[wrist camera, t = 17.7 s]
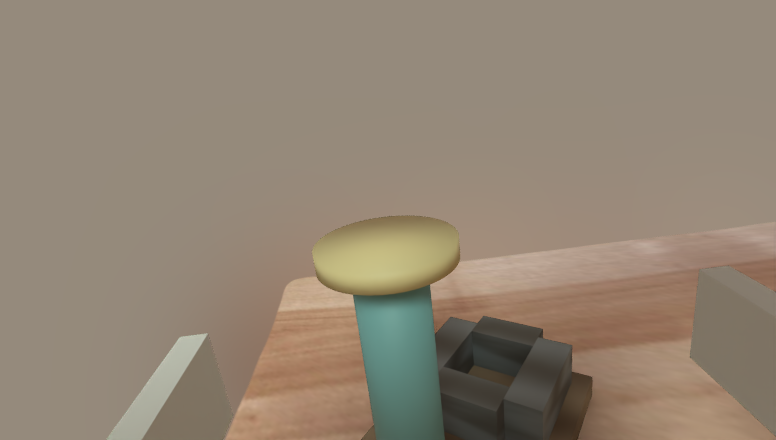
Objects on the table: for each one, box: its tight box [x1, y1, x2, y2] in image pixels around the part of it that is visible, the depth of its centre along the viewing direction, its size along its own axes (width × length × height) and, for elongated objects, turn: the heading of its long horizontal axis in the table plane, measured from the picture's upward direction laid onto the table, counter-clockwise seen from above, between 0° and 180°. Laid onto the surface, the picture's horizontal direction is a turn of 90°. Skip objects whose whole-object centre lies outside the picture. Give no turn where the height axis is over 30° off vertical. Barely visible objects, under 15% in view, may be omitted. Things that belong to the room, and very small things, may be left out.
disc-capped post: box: [312, 216, 460, 440], centre depth 28 cm, size 8×8×20 cm
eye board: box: [361, 316, 592, 440], centre depth 35 cm, size 26×15×6 cm, turn 146°
